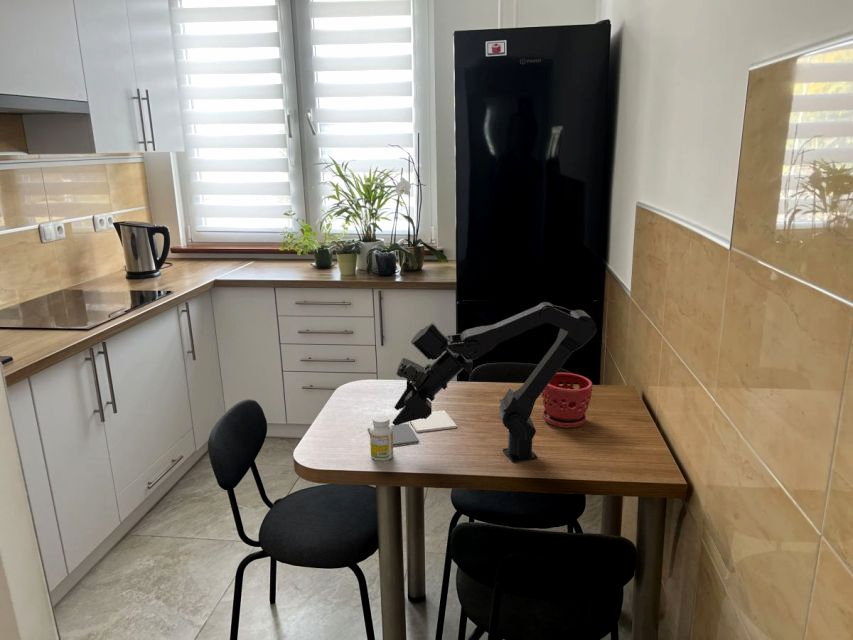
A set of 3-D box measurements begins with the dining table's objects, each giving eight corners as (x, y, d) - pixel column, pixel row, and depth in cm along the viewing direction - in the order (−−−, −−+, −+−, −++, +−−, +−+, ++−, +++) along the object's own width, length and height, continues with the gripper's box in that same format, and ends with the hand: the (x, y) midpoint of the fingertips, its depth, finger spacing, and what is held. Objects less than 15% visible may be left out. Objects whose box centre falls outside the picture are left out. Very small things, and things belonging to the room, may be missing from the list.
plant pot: (537, 428, 169) (539, 385, 166) (543, 410, 182) (545, 370, 179) (588, 434, 166) (591, 390, 163) (591, 415, 178) (593, 374, 175)
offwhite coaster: (456, 427, 170) (456, 425, 170) (416, 432, 167) (416, 430, 167) (444, 412, 180) (444, 410, 180) (406, 416, 177) (406, 414, 177)
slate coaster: (419, 442, 161) (419, 440, 161) (376, 448, 158) (376, 446, 158) (408, 425, 171) (408, 423, 171) (367, 430, 168) (367, 428, 168)
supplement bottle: (381, 449, 158) (380, 412, 155) (397, 455, 155) (397, 417, 152) (366, 456, 154) (364, 419, 151) (382, 463, 151) (381, 425, 148)
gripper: (417, 337, 157) (373, 380, 159) (416, 361, 138) (366, 408, 141) (449, 368, 158) (405, 409, 161) (452, 395, 140) (402, 441, 143)
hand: (394, 416), depth 152 cm, fingers open, 9 cm apart
